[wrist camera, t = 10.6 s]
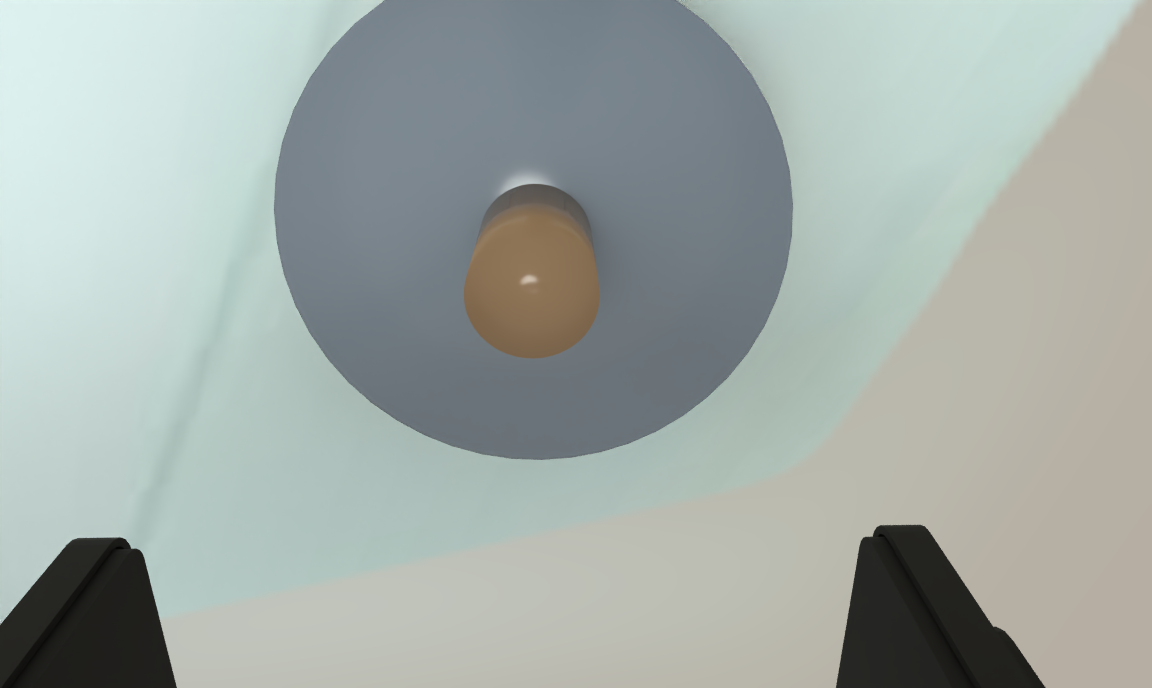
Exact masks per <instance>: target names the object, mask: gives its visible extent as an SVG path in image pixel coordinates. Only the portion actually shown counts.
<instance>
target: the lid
mask: <svg viewBox="0 0 1152 688" xmlns="http://www.w3.org/2000/svg"><path fill="white" fill-rule="evenodd" d="M792 212H793V201H792V191H791V181H790V171H789V167H788V163H787V158H786V154H785V150H784V146H783V142H782V138H781V135H780V133H779V130H778V128H777V125H776V122H775V120H774V117H773V115H772V112H771V110H770V107H769V105H768V103H767V101H766V100H765V98H764V96H763V94H762V93H761V91H760V89H759V87H758V85H757V84H756V82H755V80H754V78H753V77H752V75H751V73H750V72H749V71H748V70H747V68H746V67H745V66H744V64H743V63H742V62H741V60H740V59H739V58H738V57H737V55H736V54H735V53H734V51H733V50H732V49H731V47H730V46H729V45H728V44H727V43H726V42H725V41H724V40H723V39H722V38H721V37H720V36H719V35H718V34H717V33H716V32H715V31H714V30H713V29H712V28H711V27H710V26H708V25H707V24H706V23H705V22H704V21H703V20H702V19H701V18H699V17H698V16H697V15H695V14H694V13H693V12H691V11H690V10H688V9H687V8H686V7H684V6H683V5H682V4H680V3H679V2H678V1H676V0H385V1H383V2H382V3H381V4H380V5H378V6H377V7H376V8H374V9H373V10H372V11H371V12H369V13H368V14H367V15H365V16H364V17H363V18H361V19H360V20H359V21H358V22H356V23H355V24H354V25H353V26H352V27H351V28H350V29H349V30H348V32H347V33H346V34H345V35H344V36H343V37H342V38H341V39H340V40H339V41H338V42H337V43H336V44H335V45H334V46H333V47H332V48H331V49H330V51H329V52H328V53H327V55H326V56H325V58H324V59H323V60H322V62H321V63H320V65H319V66H318V67H317V69H316V70H315V72H314V73H313V74H312V76H311V77H310V79H309V81H308V83H307V85H306V87H305V88H304V90H303V92H302V94H301V96H300V98H299V100H298V102H297V104H296V106H295V108H294V110H293V113H292V116H291V119H290V122H289V124H288V127H287V130H286V133H285V136H284V139H283V142H282V147H281V152H280V157H279V162H278V167H277V172H276V183H275V202H274V214H275V225H276V237H277V245H278V249H279V254H280V258H281V263H282V267H283V272H284V275H285V278H286V281H287V284H288V286H289V289H290V292H291V294H292V297H293V300H294V303H295V305H296V307H297V309H298V311H299V313H300V315H301V317H302V319H303V321H304V322H305V324H306V326H307V328H308V330H309V332H310V334H311V335H312V337H313V338H314V340H315V341H316V342H317V344H318V345H319V347H320V348H321V350H322V351H323V353H324V354H325V355H326V357H327V358H328V360H329V361H330V362H331V363H332V364H333V365H334V366H335V368H336V369H337V370H338V371H339V372H340V373H341V374H342V375H343V377H344V378H345V379H346V380H347V381H348V382H349V383H350V384H351V385H352V386H353V387H355V388H356V389H357V390H358V391H359V392H360V393H361V394H362V395H364V396H365V397H366V398H367V399H368V400H369V401H370V402H371V403H373V404H374V405H376V406H377V407H379V408H380V409H381V410H383V411H384V412H386V413H387V414H389V415H390V416H392V417H393V418H394V419H396V420H397V421H399V422H401V423H403V424H405V425H407V426H408V427H410V428H412V429H414V430H416V431H418V432H420V433H422V434H423V435H426V436H428V437H431V438H433V439H436V440H438V441H441V442H443V443H446V444H448V445H451V446H454V447H458V448H461V449H465V450H469V451H473V452H476V453H480V454H485V455H492V456H498V457H505V458H511V459H537V460H544V459H558V458H571V457H577V456H582V455H587V454H593V453H598V452H602V451H605V450H609V449H612V448H615V447H618V446H622V445H625V444H628V443H631V442H633V441H635V440H638V439H640V438H642V437H644V436H647V435H649V434H651V433H654V432H656V431H658V430H659V429H661V428H663V427H665V426H666V425H668V424H670V423H671V422H673V421H675V420H677V419H678V418H680V417H682V416H683V415H684V414H686V413H687V412H688V411H690V410H691V409H692V408H694V407H695V406H696V405H698V404H699V403H700V402H702V401H703V400H704V399H706V398H707V397H708V396H709V395H710V394H711V393H712V392H713V391H714V390H715V389H716V388H717V387H718V386H719V385H720V384H721V383H722V382H723V381H724V380H725V379H727V378H728V377H729V375H730V374H731V373H732V372H733V370H734V369H735V368H736V367H737V365H738V364H739V363H740V362H741V361H742V359H743V358H744V357H745V356H746V354H747V353H748V352H749V350H750V348H751V347H752V345H753V344H754V342H755V340H756V339H757V337H758V335H759V334H760V332H761V331H762V329H763V327H764V325H765V323H766V321H767V319H768V317H769V315H770V312H771V310H772V308H773V306H774V304H775V301H776V299H777V296H778V293H779V290H780V287H781V284H782V280H783V277H784V274H785V271H786V267H787V261H788V255H789V249H790V243H791V237H792Z"/></svg>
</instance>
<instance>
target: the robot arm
mask: <svg viewBox="0 0 1152 688" xmlns="http://www.w3.org/2000/svg"><path fill="white" fill-rule="evenodd" d="M0 688H177V687H176V683H175V679H174V675H173V671H172V667H171V663H170V659H169V655H168V651H167V647H166V643H165V639H164V635H163V631H162V627H161V623H160V619H159V615H158V611H157V607H156V603H155V599H154V595H153V591H152V587H151V583H150V579H149V575H148V571H147V567H146V563H145V559H144V557H143V554H142V552H141V551H140V550H138V549H131V547H130V545H129V543H128V542H127V541H126V540H125V539H123V538H77V539H74V540H72V541H71V542H70V543H69V544H67V545H66V547H65V548H64V549H63V550H62V551H61V553H60V554H59V555H58V556H57V557H56V559H55V560H54V561H53V562H52V563H51V565H50V566H49V567H48V568H47V569H46V571H45V572H44V573H43V574H42V575H41V577H40V578H39V579H38V580H37V581H36V583H35V584H34V585H33V586H32V587H31V589H30V590H29V591H28V592H27V593H26V595H25V596H24V597H23V598H22V599H21V601H20V602H19V603H18V604H17V605H16V607H15V608H14V609H13V610H12V611H11V613H10V614H9V615H8V616H7V617H6V619H5V620H4V621H3V622H2V623H1V625H0ZM836 688H1045V687H1044V685H1043V684H1042V682H1041V681H1040V679H1039V678H1038V676H1037V675H1036V673H1035V672H1034V670H1033V669H1032V668H1031V666H1030V665H1029V663H1028V662H1027V660H1026V659H1025V657H1024V656H1023V654H1022V653H1021V651H1020V650H1019V649H1018V647H1017V646H1016V644H1015V643H1014V641H1013V640H1012V639H1011V638H1010V637H1009V636H1008V635H1007V633H1006V632H1005V631H1003V630H1001V629H999V628H997V627H993V626H992V624H991V623H990V621H989V620H988V618H987V617H986V616H985V614H984V613H983V611H982V610H981V608H980V607H979V605H978V603H977V602H976V600H975V599H974V597H973V596H972V594H971V593H970V591H969V590H968V589H967V587H966V586H965V584H964V583H963V581H962V580H961V578H960V577H959V575H958V574H957V572H956V571H955V569H954V568H953V566H952V565H951V563H950V562H949V560H948V559H947V557H946V556H945V554H944V553H943V551H942V550H941V548H940V547H939V545H938V544H937V542H936V541H935V539H934V538H933V536H932V535H931V533H930V532H929V531H928V529H926V527H925V526H922V525H880V526H878V527H877V528H876V529H875V531H874V534H873V537H864V538H863V539H862V541H861V543H860V547H859V553H858V559H857V565H856V571H855V578H854V583H853V589H852V595H851V601H850V608H849V613H848V619H847V625H846V631H845V637H844V643H843V649H842V655H841V661H840V667H839V673H838V679H837V685H836Z"/></svg>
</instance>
